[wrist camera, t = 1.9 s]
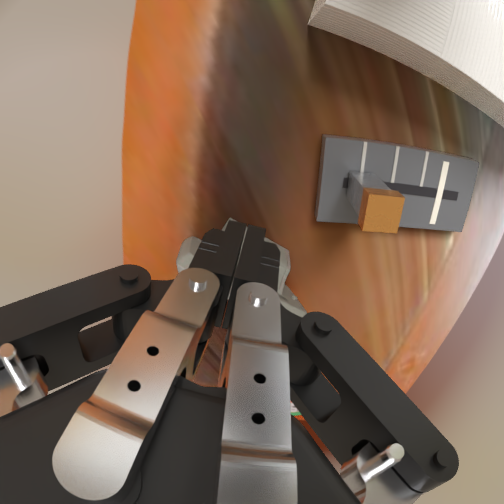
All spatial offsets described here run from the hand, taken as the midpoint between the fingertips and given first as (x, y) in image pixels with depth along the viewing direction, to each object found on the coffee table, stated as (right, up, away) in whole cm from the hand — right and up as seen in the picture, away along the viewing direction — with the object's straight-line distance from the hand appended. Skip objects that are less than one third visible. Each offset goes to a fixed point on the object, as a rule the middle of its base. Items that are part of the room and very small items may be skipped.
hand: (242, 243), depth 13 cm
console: (+19, +8, +23) cm, 31 cm away
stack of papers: (+23, +25, +14) cm, 37 cm away
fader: (+13, +7, +21) cm, 26 cm away
